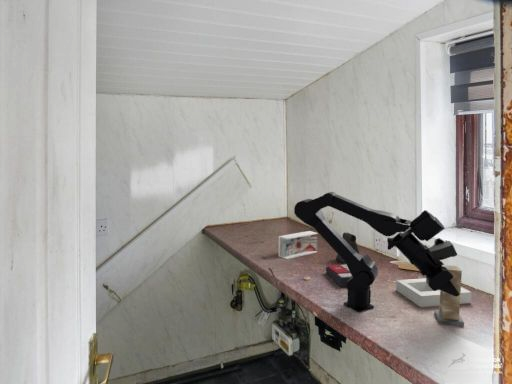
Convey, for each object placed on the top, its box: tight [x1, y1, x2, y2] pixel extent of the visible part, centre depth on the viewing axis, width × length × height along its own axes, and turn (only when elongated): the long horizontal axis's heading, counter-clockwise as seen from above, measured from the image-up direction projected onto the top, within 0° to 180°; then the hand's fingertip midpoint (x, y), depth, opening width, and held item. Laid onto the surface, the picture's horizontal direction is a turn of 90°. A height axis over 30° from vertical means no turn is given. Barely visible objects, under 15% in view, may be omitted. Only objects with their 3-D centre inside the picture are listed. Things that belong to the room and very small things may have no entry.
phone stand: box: [335, 232, 360, 265], centre depth 152 cm, size 9×6×12 cm, turn 106°
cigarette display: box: [277, 230, 319, 260], centre depth 163 cm, size 20×6×9 cm, turn 124°
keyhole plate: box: [395, 277, 472, 308], centre depth 115 cm, size 17×14×4 cm
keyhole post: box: [433, 264, 465, 327], centre depth 98 cm, size 6×6×15 cm
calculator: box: [325, 264, 352, 289], centre depth 131 cm, size 11×4×15 cm
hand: (455, 292), depth 97 cm, fingers closed on keyhole post, 4 cm apart
